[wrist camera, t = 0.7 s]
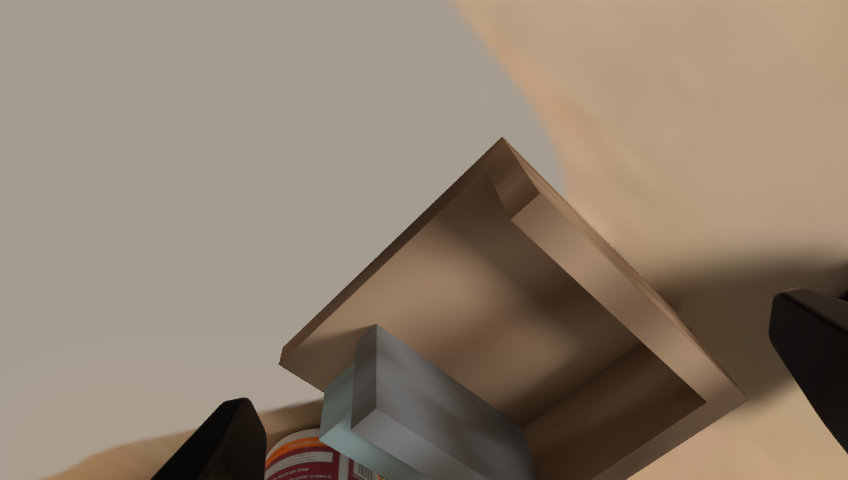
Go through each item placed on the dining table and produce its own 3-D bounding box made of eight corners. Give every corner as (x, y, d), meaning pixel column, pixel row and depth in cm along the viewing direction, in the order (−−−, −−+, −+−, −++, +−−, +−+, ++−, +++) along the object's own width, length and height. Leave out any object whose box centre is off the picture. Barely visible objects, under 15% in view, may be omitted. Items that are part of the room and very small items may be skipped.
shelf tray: (678, 313, 26) (756, 408, 21) (470, 466, 30) (490, 579, 25) (502, 136, 21) (544, 200, 16) (283, 347, 25) (256, 455, 20)
